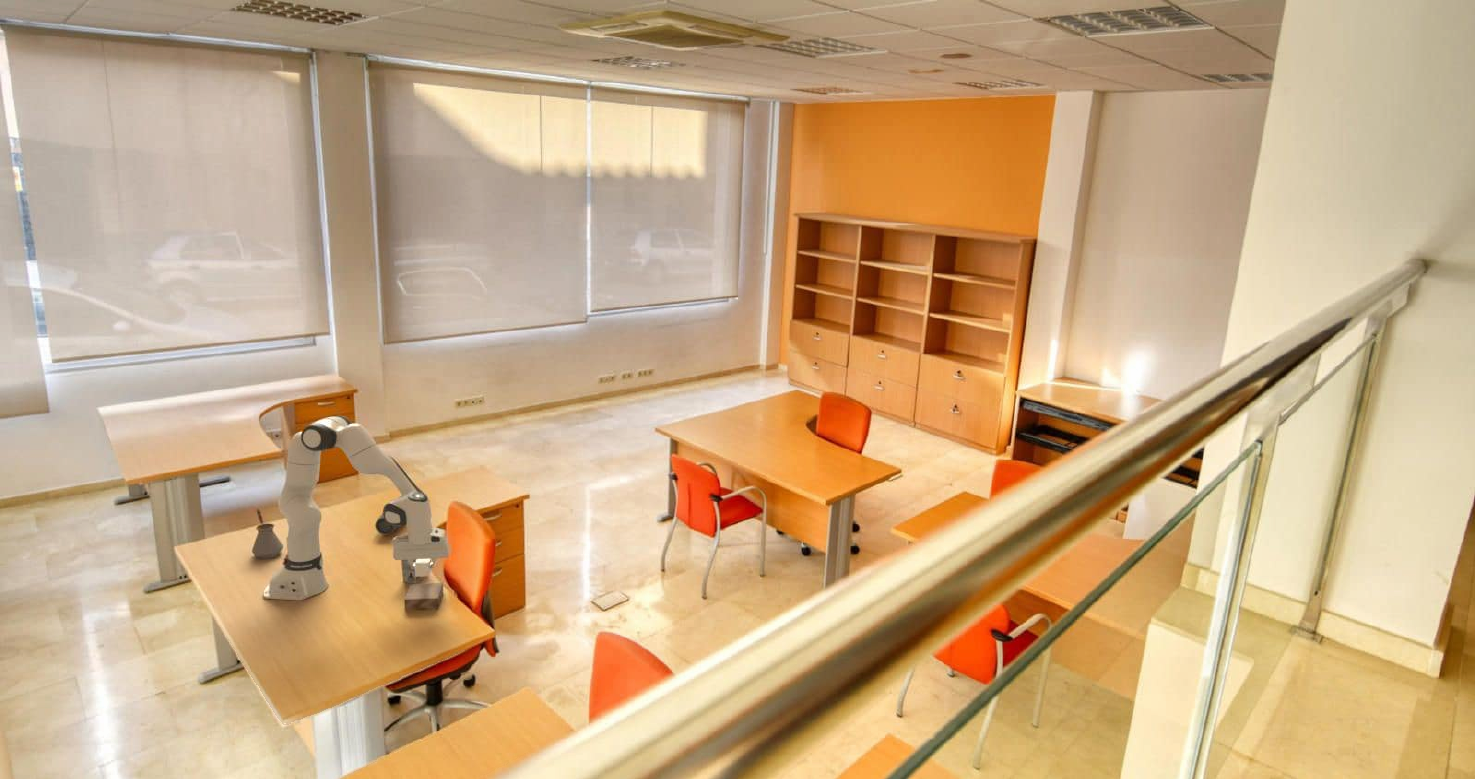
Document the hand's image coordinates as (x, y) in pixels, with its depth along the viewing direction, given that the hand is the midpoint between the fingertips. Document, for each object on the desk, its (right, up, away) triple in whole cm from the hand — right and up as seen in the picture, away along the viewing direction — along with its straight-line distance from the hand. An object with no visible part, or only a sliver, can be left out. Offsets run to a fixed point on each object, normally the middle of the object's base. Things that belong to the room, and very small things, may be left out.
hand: (423, 568), depth 330 cm
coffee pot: (-80, 0, +39) cm, 89 cm away
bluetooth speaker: (-36, +5, +65) cm, 75 cm away
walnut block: (-1, -14, +4) cm, 15 cm away
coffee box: (-11, -8, +22) cm, 25 cm away
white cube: (0, -2, +1) cm, 2 cm away
